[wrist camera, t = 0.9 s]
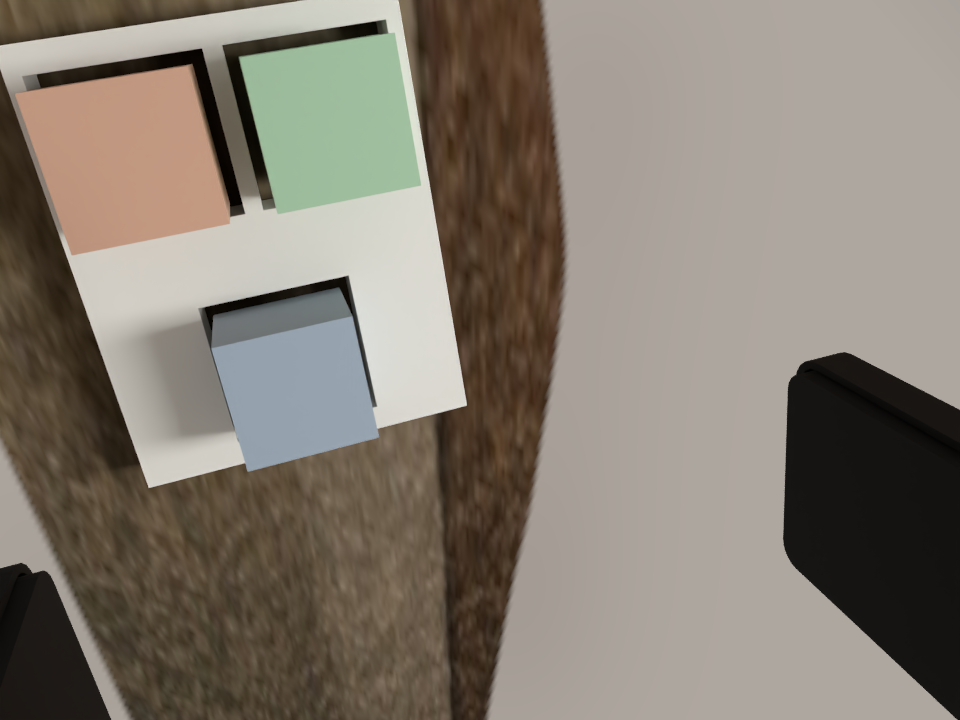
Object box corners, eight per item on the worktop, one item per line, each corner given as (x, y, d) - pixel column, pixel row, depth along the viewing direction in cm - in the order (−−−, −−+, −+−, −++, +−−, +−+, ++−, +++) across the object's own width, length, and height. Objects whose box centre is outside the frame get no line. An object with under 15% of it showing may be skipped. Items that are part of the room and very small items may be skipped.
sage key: (238, 56, 26) (239, 57, 22) (375, 34, 27) (394, 32, 23) (272, 195, 27) (277, 214, 24) (400, 170, 28) (421, 185, 25)
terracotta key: (42, 87, 24) (14, 93, 21) (192, 63, 25) (187, 66, 22) (90, 230, 26) (71, 255, 23) (229, 203, 27) (229, 223, 24)
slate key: (213, 315, 28) (210, 348, 25) (339, 287, 29) (352, 316, 26) (245, 427, 30) (247, 471, 27) (364, 397, 31) (379, 437, 28)
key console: (8, 47, 25) (-9, 46, 24) (385, -10, 28) (396, -14, 26) (153, 462, 31) (148, 487, 29) (454, 386, 34) (466, 405, 32)
